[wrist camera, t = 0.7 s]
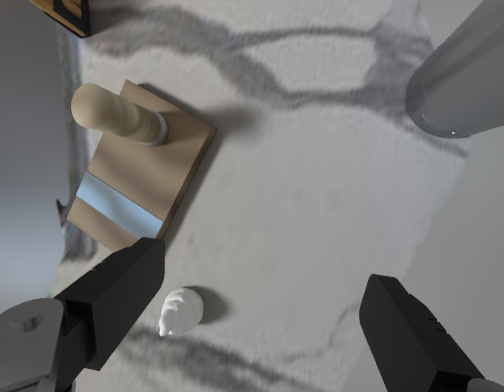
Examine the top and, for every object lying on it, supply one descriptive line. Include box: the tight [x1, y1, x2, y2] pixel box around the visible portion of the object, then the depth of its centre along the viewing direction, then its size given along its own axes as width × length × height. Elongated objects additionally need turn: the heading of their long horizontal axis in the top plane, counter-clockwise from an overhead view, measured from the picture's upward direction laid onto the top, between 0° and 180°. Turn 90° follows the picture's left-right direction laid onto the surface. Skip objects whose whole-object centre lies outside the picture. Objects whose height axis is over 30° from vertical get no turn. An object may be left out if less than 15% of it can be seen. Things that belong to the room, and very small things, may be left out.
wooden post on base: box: [71, 83, 169, 147], centre depth 26 cm, size 4×4×10 cm
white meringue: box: [159, 288, 204, 336], centre depth 30 cm, size 6×6×6 cm
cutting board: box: [67, 79, 217, 253], centre depth 32 cm, size 22×14×2 cm, turn 151°
